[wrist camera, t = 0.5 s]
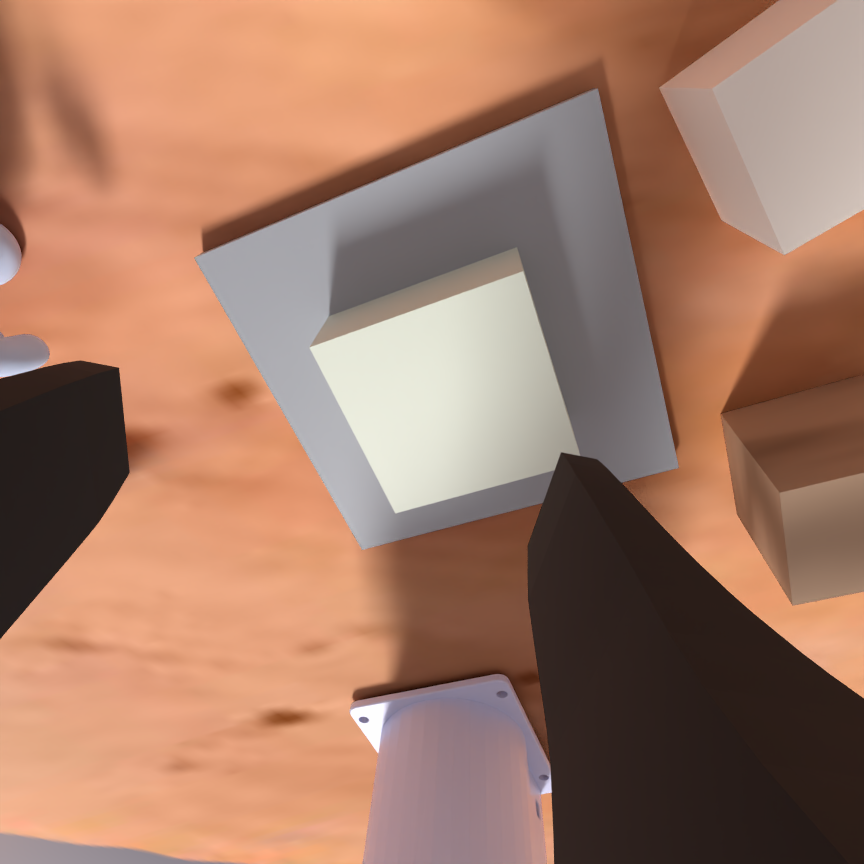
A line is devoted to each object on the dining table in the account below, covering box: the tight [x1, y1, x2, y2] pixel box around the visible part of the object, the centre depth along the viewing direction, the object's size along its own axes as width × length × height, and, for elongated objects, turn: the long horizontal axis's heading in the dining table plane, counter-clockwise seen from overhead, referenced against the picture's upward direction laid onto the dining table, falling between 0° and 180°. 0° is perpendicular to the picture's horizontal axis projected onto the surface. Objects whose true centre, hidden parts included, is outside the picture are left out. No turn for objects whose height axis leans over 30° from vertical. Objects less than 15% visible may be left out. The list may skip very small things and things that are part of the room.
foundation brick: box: [309, 247, 580, 513], centre depth 18 cm, size 6×6×2 cm
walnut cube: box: [721, 374, 864, 605], centre depth 18 cm, size 4×4×4 cm
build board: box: [195, 88, 679, 550], centre depth 19 cm, size 12×12×1 cm
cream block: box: [659, 0, 864, 255], centre depth 13 cm, size 4×4×4 cm
